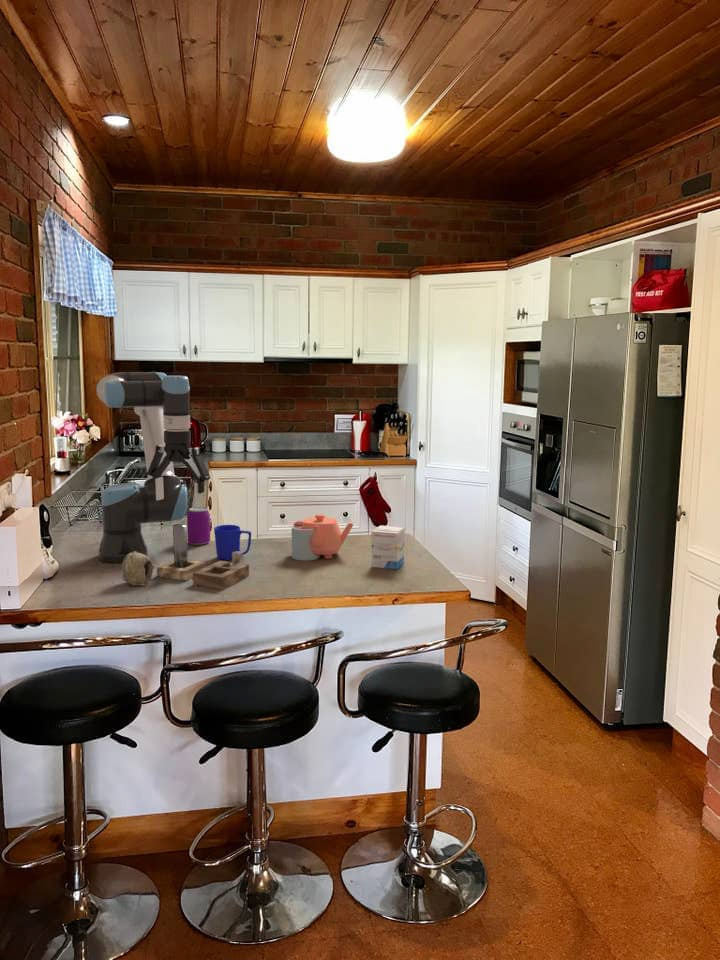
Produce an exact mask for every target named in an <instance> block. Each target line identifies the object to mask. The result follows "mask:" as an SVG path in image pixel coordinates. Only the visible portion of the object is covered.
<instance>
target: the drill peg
mask: <svg viewBox="0 0 720 960" xmlns="http://www.w3.org/2000/svg"><path fill="white" fill-rule="evenodd" d="M172 535H173V536H172V539H173V560H174V567H176V568H183V569H184V568H186V567H188V560H189V556H188V553H189V552H188V532H187V523H186V524H185V523H176V524H172Z"/></svg>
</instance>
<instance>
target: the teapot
mask: <svg viewBox="0 0 720 960" xmlns="http://www.w3.org/2000/svg"><path fill="white" fill-rule="evenodd" d="M297 524H302V528H303V529H314V531H313V535H312V539H311V547H310V549H311V551H312V552H313V554H314V555H320V556H322V555H323V556H324V559H325V560H326V559H327V560H332V559H333V555H336V554H337V553H339V551H340V549H341V547H342V545H343V544H344V543H345V541H346V539H347V538H348V535H349V534H350V532H351V529H352V528H353V526H354V523H353V522H348V523H347V524H346V526H345V527H344V528H343V530H342V531H341V529H340V525H339V523H338V521H337V519H336V518H333V517H327V516H326V515H325V514H323V513H322V514H321V513H317V514H315V517H314V516H311V517H307V518H305V519H304V521H303V520H296V521H295V522H294V523H293V524H292V526H293V525H297Z"/></svg>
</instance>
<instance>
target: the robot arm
mask: <svg viewBox="0 0 720 960" xmlns="http://www.w3.org/2000/svg"><path fill="white" fill-rule="evenodd" d="M190 390H191V387H190V380H189V378H188V376H186V375H167V374H166V373H164V372H158V371H157V372H156V371H147V372H145V371H142V372H141V371H134V372H133V371H129V372H127V371H122V372H121V371H119V372H113V373H110V374H108V375H105V376H103V377H102V378H101V379H99V380H98V382H97V384H96V386H95V392H96V395H97V397H98V399H99V400H100V401H101V402H102V403H104V404H105V406H106V407H108V408H117V409H119V408H133V409H134V413H135V414H136V415H137V416H139V420H140V427H141V434H142V443H143V449H144V457H145V464H146V465H145V466H146V474H147V479H146V480H145V481H144V483H143V486H140V484H139V483H138V482H123V483H122V482H121V483H118V484H113V485H110V486H107V487H105V488H104V489H103V490H102V492H101V503H100V506H101V512H102V513H101V515H102V517H101V518H102V538H101V541H100V544H99V545H100V546H99V548H98V554H97V555H98V560H99V561H101V562H104V563H114V564H115V563H117V564H118V563H121V564H122V563H123V560H124V558H125V557H126V556H127V555H128V554H129V553H133V552H134V551H135V552H138V553H141V554H144V555H146V556H147V557H148V552H149V551H148V546H147V545H146V542H145V539H144V535H143V534H142V524H150V523H151V524H152V523H163V522H173V521H174V522H175V521H180V520H183V518H185V516H186V515H187V514H186V513H187V508H188V487H187V484H184V483H182V482H181V479H180V477H179V476H177V475H175V469H174V462H176V463H183V465H185V466H186V468H187V469H188V471H189V472H190V473H191V475H192V476H193V479H195V482H194V505H195V506H197V505H200V504H203V493H205V482H206V481H208V480H210V479H211V477H210V476H211V475H210V473H209V471H208V469H207V466H206V464H205V461H204V460H203V457H202V455H201V448H200V446H197V447H191V441H192V439H191V437H192V436H191V431H190V429H191V411H190V408H191V407H190V405H191V404H190ZM181 483H182V484H181Z"/></svg>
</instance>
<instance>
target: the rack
mask: <svg viewBox="0 0 720 960" xmlns="http://www.w3.org/2000/svg"><path fill="white" fill-rule="evenodd" d="M205 567H206V562H205V561H199V560H191V559H188V567H186V568H184V569H183V568H176V567H174V559H173V560H169V561H167V562H165V563H163V564H161V565H158V566H157V567H156V577H157V576H160V577H159V578H162V577H167V578H166V579H168V578H173V579H172V580H175V579H179V580H178V581H181V580H185V581H184V582H187V581H189V580H191V579H193V578H192V577H193V573H194V572H197V571H199V570H201V569H203V568H205ZM186 580H187V581H186Z"/></svg>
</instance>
